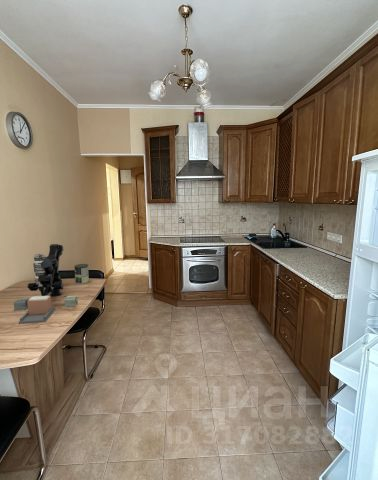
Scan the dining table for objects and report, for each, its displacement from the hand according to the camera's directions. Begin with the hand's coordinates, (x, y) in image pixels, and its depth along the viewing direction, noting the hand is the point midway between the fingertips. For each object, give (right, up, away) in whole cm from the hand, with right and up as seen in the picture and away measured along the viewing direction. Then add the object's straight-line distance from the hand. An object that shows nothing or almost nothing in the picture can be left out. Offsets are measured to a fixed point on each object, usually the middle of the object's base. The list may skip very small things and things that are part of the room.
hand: (42, 299), depth 147 cm
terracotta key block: (+1, -6, -4) cm, 8 cm away
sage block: (+13, -6, +9) cm, 17 cm away
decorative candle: (-26, -1, +44) cm, 51 cm away
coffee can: (0, +1, +53) cm, 53 cm away
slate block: (-15, -7, +4) cm, 17 cm away
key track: (+1, -8, -7) cm, 11 cm away
